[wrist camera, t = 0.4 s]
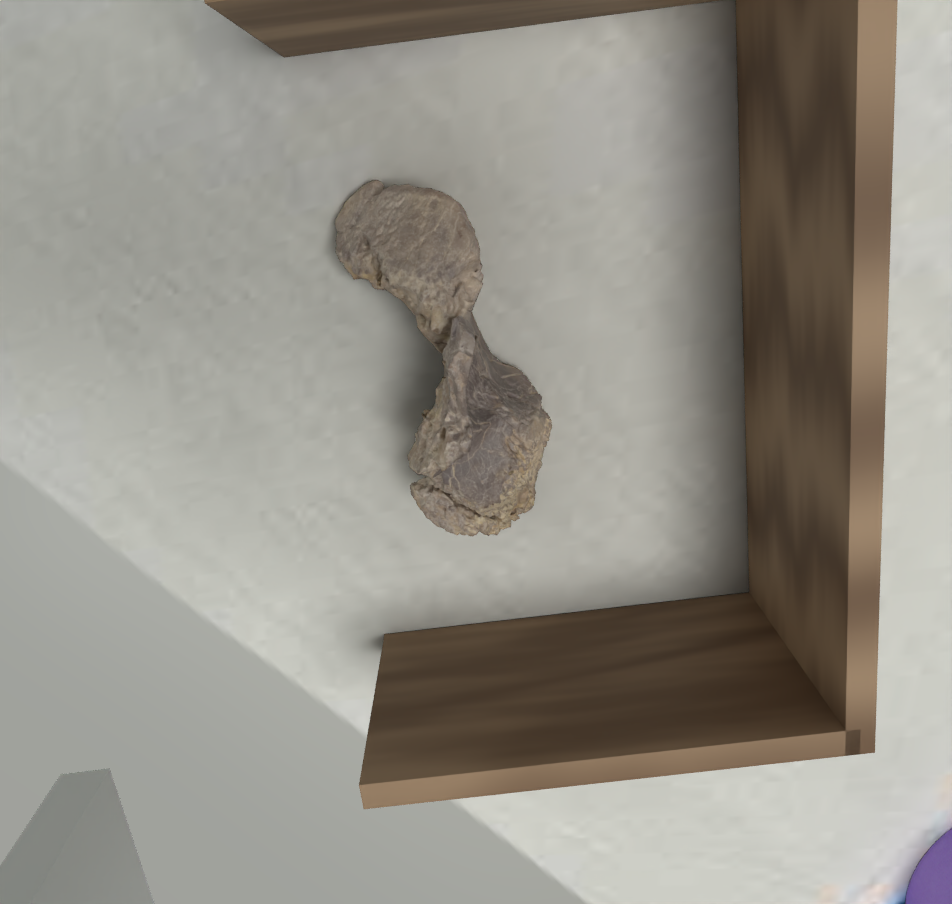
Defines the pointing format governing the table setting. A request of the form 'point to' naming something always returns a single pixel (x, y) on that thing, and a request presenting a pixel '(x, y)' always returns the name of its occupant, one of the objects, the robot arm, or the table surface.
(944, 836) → the masking tape
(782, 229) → the walnut cubby
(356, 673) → the table surface
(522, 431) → the rock
